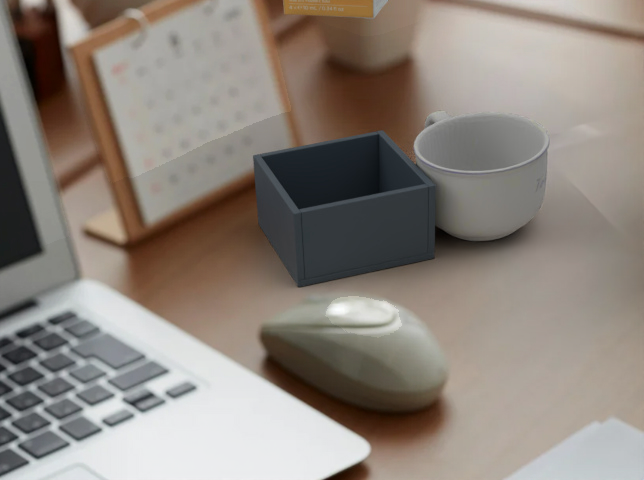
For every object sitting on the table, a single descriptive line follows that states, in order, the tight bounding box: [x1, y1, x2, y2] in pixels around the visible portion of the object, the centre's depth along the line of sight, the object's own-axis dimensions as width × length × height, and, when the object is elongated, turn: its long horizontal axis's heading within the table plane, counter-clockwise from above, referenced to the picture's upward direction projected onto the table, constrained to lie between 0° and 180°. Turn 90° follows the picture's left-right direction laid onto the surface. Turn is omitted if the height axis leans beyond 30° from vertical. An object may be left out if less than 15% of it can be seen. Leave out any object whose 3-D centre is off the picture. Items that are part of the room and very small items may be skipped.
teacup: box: [413, 110, 551, 242], centre depth 101 cm, size 14×11×8 cm
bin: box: [252, 129, 436, 288], centre depth 100 cm, size 12×12×7 cm
